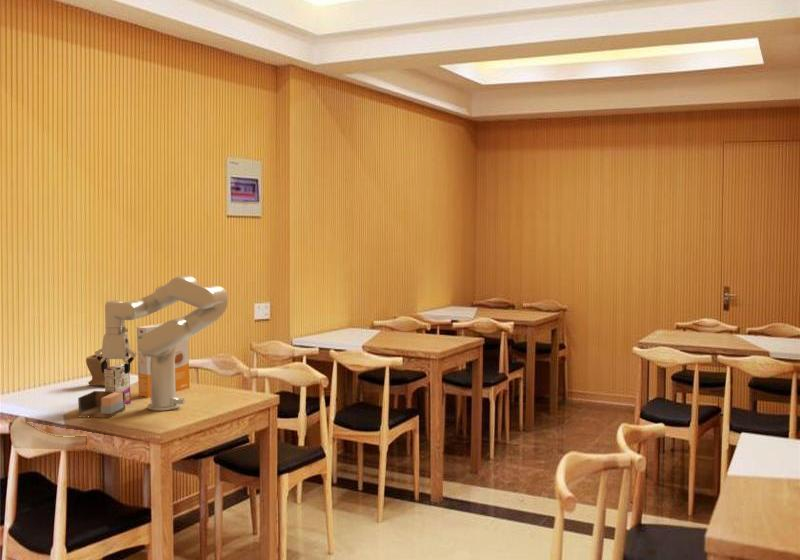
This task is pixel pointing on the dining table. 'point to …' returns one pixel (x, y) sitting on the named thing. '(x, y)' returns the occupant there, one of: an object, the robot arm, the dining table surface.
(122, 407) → the book rack
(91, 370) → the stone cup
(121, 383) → the candy bar box
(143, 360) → the cereal box
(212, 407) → the dining table surface
